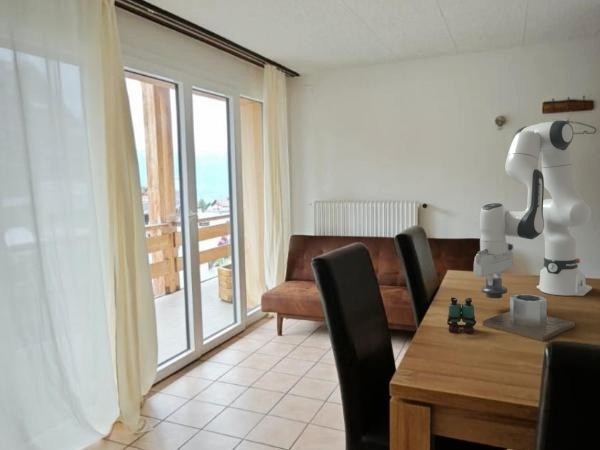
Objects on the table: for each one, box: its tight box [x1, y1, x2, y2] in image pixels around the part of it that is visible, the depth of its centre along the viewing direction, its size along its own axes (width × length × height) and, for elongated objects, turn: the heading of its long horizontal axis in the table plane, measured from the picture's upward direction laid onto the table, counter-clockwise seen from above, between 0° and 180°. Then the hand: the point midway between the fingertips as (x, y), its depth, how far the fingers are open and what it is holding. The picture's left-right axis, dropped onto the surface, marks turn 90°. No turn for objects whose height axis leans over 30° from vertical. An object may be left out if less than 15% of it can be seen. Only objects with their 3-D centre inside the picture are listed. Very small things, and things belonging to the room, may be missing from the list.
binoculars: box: [446, 297, 477, 335], centre depth 146 cm, size 9×11×10 cm
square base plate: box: [482, 293, 576, 342], centre depth 148 cm, size 20×20×10 cm
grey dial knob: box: [480, 276, 508, 299], centre depth 166 cm, size 9×9×7 cm
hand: (493, 284), depth 166 cm, fingers closed on grey dial knob, 2 cm apart
